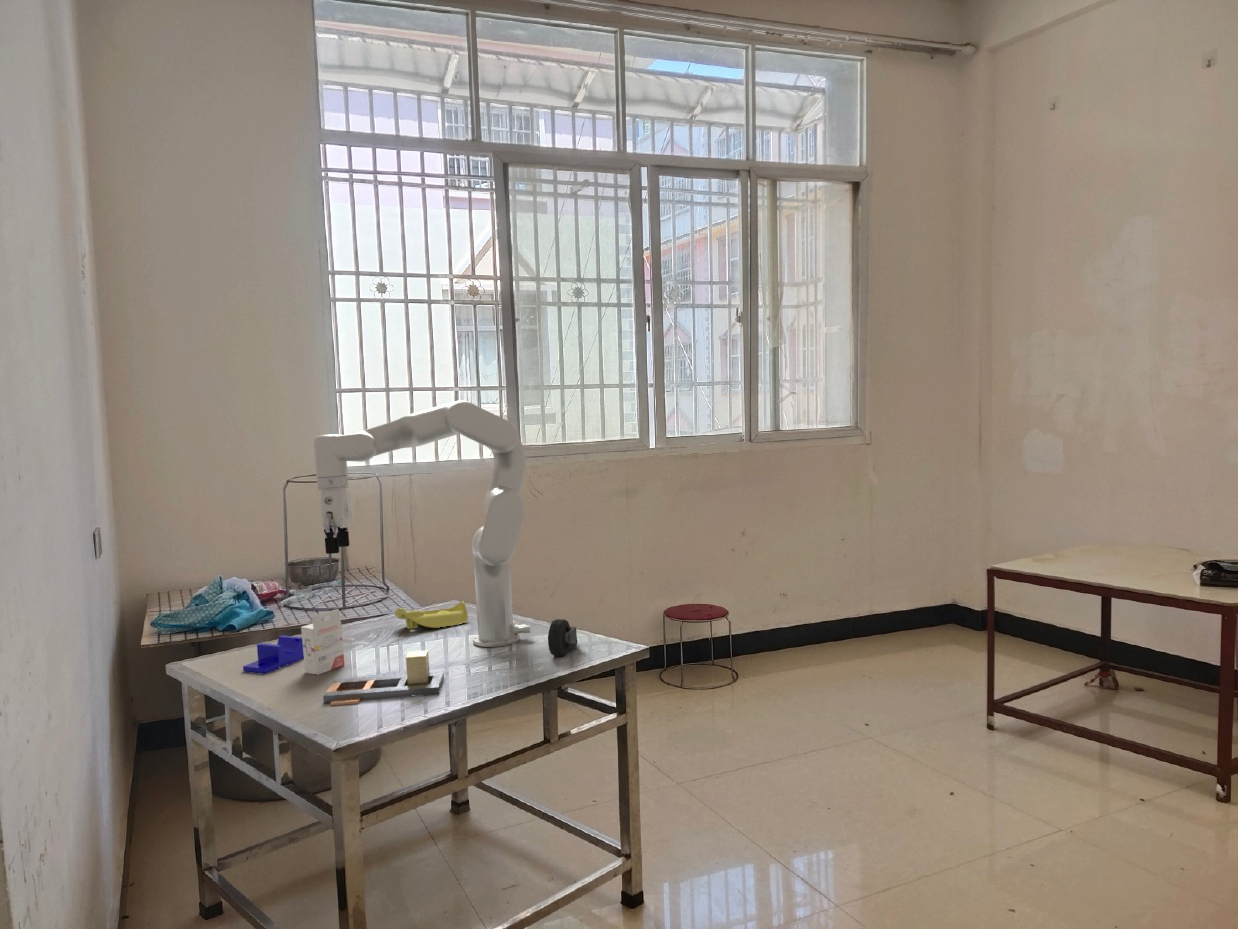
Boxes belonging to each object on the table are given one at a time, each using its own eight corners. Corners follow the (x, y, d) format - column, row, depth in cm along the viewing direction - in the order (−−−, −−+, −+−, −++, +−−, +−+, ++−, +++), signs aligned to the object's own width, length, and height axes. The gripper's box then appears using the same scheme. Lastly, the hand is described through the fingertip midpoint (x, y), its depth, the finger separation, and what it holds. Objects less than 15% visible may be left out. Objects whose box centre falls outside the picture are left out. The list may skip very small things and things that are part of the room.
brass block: (430, 684, 194) (428, 650, 194) (427, 690, 190) (425, 656, 189) (410, 685, 194) (408, 651, 193) (408, 692, 189) (405, 657, 189)
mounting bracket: (297, 652, 227) (295, 630, 226) (317, 654, 224) (316, 632, 223) (243, 673, 210) (241, 649, 210) (264, 676, 207) (263, 652, 207)
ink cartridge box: (332, 662, 214) (328, 606, 213) (345, 665, 212) (341, 608, 210) (303, 673, 207) (299, 614, 206) (316, 675, 204) (312, 616, 203)
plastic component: (453, 608, 257) (465, 599, 249) (457, 632, 255) (469, 623, 247) (390, 615, 246) (401, 606, 238) (393, 640, 243) (404, 631, 236)
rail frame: (444, 678, 198) (443, 671, 198) (437, 697, 185) (437, 690, 185) (335, 686, 195) (335, 679, 195) (321, 706, 183) (320, 699, 182)
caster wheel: (565, 664, 207) (584, 641, 222) (562, 627, 206) (581, 606, 220) (544, 663, 209) (564, 640, 223) (541, 626, 207) (561, 606, 222)
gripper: (338, 485, 203) (344, 555, 205) (356, 479, 221) (361, 543, 222) (307, 487, 203) (312, 557, 204) (327, 480, 220) (332, 545, 222)
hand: (338, 549), depth 213 cm, fingers open, 9 cm apart
